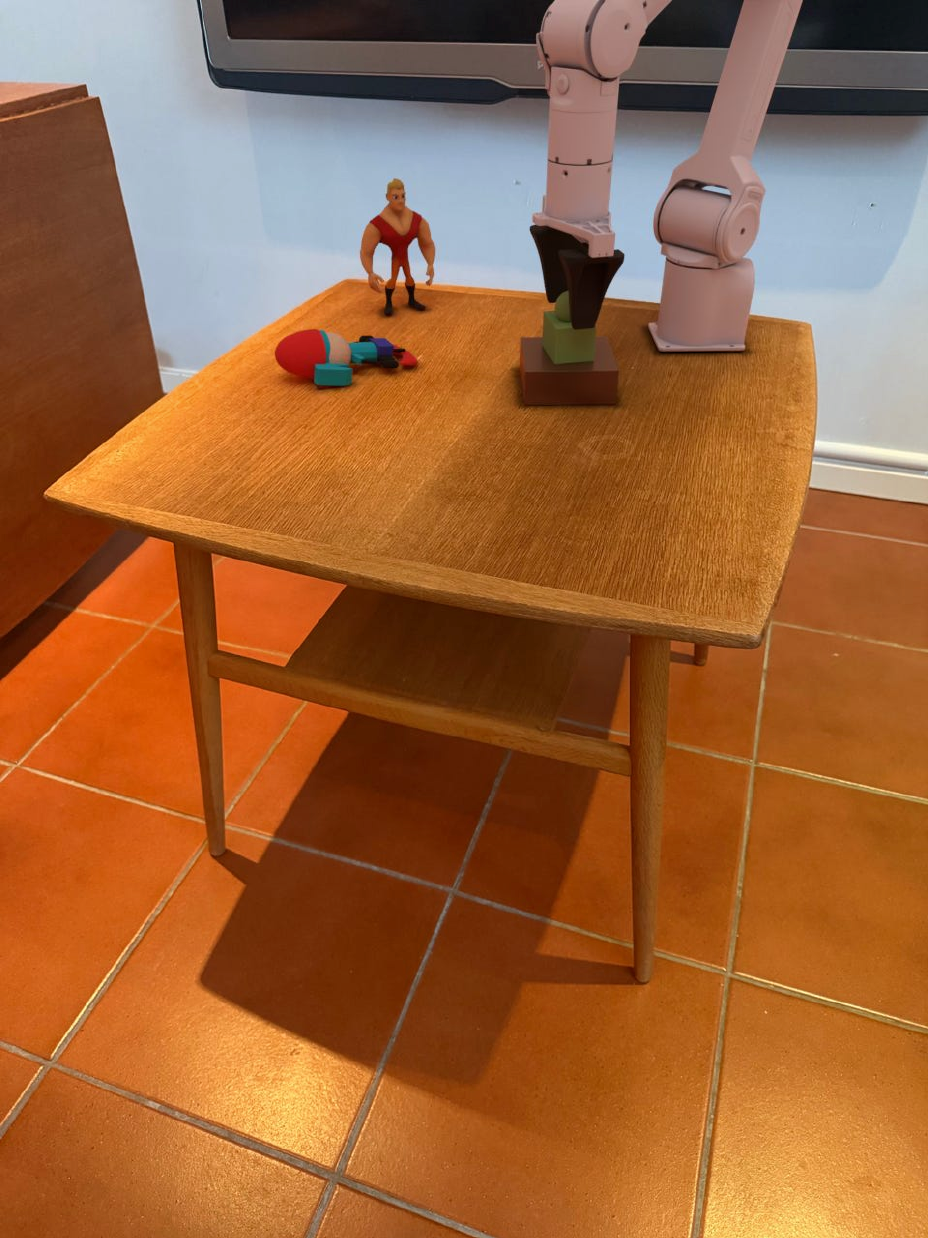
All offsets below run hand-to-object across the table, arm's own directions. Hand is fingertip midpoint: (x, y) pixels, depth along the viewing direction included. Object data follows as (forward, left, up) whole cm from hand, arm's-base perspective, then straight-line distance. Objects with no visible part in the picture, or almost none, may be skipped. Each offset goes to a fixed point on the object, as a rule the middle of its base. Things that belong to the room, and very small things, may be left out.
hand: (570, 313), depth 86 cm
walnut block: (0, 0, -7) cm, 7 cm away
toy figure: (+23, -4, -8) cm, 25 cm away
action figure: (+18, -23, -8) cm, 31 cm away
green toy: (0, 0, -4) cm, 4 cm away
